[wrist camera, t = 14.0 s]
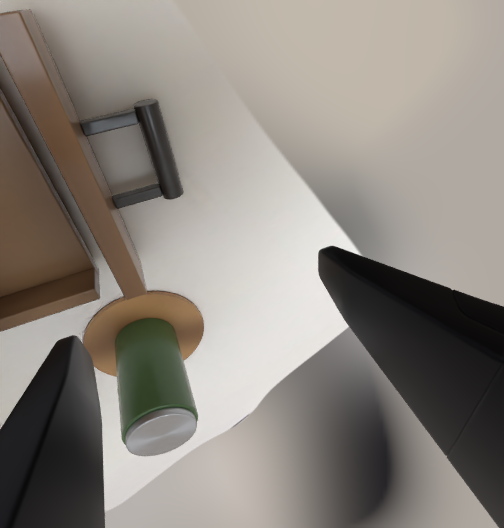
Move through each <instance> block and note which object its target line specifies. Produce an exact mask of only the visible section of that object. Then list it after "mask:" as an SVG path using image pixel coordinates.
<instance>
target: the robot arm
mask: <svg viewBox="0 0 504 528" xmlns="http://www.w3.org/2000/svg"><path fill="white" fill-rule="evenodd" d="M318 272H319V276H320V279H321V280H322V282H323V284H324V286H325V287H326V289H327V291H328V292H329V294H330V296H331V298H332V299H333V301H334V303H335V305H336V306H337V308H338V310H339V311H340V313H341V315H342V316H343V318H344V320H345V321H346V323H347V324H348V325H349V327H350V328H351V329H352V331H353V332H354V333H355V335H356V336H357V337H358V339H359V340H360V341H361V343H362V344H363V345H364V347H365V348H366V350H367V351H368V352H369V354H370V355H371V356H372V358H373V359H374V360H375V362H376V363H377V364H378V366H379V367H380V368H381V370H382V371H383V372H384V374H385V375H386V376H387V378H388V379H389V380H390V382H391V383H392V384H393V386H394V387H395V388H396V390H397V391H398V392H399V394H400V395H401V396H402V398H403V399H404V400H405V402H406V403H407V404H408V406H409V407H410V409H411V410H412V411H413V412H414V414H415V415H416V417H417V418H418V419H419V421H420V422H421V423H422V425H423V426H424V427H425V429H426V430H427V431H428V433H429V434H430V435H431V437H432V438H433V439H434V441H435V442H436V443H437V445H438V446H439V447H440V449H441V450H442V451H443V453H444V454H445V455H446V456H447V458H448V460H449V461H450V462H451V464H452V465H453V467H454V468H455V469H456V471H457V472H458V473H459V475H460V476H461V477H462V479H463V480H464V481H465V483H466V484H467V485H468V487H469V488H470V489H471V491H472V492H473V493H474V495H475V496H476V497H477V499H478V500H479V501H480V503H481V504H482V505H483V507H484V508H485V509H486V511H487V512H488V513H489V515H490V516H491V517H492V519H493V520H494V522H495V523H496V524H497V526H498V527H499V528H504V307H503V306H500V305H497V304H494V303H490V302H488V301H484V300H482V299H479V298H476V297H473V296H470V295H467V294H465V293H462V292H459V291H456V290H451V289H450V288H448V287H445V286H442V285H440V284H437V283H434V282H431V281H429V280H426V279H423V278H420V277H417V276H415V275H412V274H409V273H407V272H404V271H401V270H398V269H395V268H393V267H390V266H387V265H385V264H382V263H379V262H376V261H374V260H371V259H368V258H365V257H363V256H360V255H357V254H354V253H352V252H349V251H346V250H343V249H341V248H338V247H335V246H329V247H326V248H323V249H321V250H320V251H319V254H318ZM0 528H105V513H104V479H103V445H102V419H101V410H100V403H99V397H98V391H97V384H96V378H95V372H94V366H93V360H92V357H91V355H90V353H89V352H88V351H87V349H86V348H85V346H84V345H83V344H82V342H81V341H80V339H79V338H78V337H77V336H74V335H73V336H69V337H66V338H64V339H61V340H59V341H57V342H56V344H55V345H54V347H53V348H52V350H51V351H50V353H49V355H48V356H47V358H46V359H45V361H44V362H43V364H42V365H41V367H40V368H39V370H38V372H37V373H36V375H35V376H34V378H33V379H32V381H31V382H30V384H29V386H28V387H27V389H26V390H25V392H24V393H23V395H22V396H21V398H20V400H19V401H18V403H17V404H16V406H15V407H14V409H13V410H12V412H11V414H10V415H9V417H8V418H7V420H6V421H5V423H4V424H3V426H2V427H1V429H0Z"/></svg>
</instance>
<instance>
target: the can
mask: <svg viewBox="0 0 504 528" xmlns="http://www.w3.org/2000/svg"><path fill="white" fill-rule="evenodd" d="M115 357H116V370H117V383H118V396H119V409H120V422H121V435H122V441H123V442H124V444H125V445H126V447H127V449H128V451H129V452H131V453H132V454H135V455H138V456H154V455H159V454H163V453H166V452H169V451H171V450H173V449H176V448H177V447H179V446H181V445H182V444H184V443H185V442H187V441H188V440H189V439H190V438H191V437H192V436H193V434H194V433H195V431H196V427H197V420H198V413H197V410H196V406H195V402H194V398H193V395H192V391H191V387H190V383H189V380H188V376H187V372H186V368H185V365H184V361H183V357H182V353H181V350H180V346H179V342H178V338H177V334H176V331H175V329H174V327H173V326H172V325H171V324H170V323H169V322H167V321H165V320H162V319H158V318H145V319H140V320H137V321H134V322H132V323H130V324H128V325H127V326H125V327H124V328H123V329H122V330H121V331H120V332H119V333H118V335H117V337H116V339H115Z"/></svg>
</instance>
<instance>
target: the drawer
mask: <svg viewBox="0 0 504 528" xmlns="http://www.w3.org/2000/svg"><path fill="white" fill-rule="evenodd" d="M0 56H1V57H2V59H3V61H4V63H5V65H6V67H7V69H8V71H9V73H10V75H11V77H12V79H13V81H14V83H15V85H16V87H17V89H18V90H19V92H20V94H21V96H22V98H23V100H24V102H25V104H26V106H27V108H28V110H29V112H30V114H31V116H32V118H33V120H34V122H35V124H36V125H37V127H38V129H39V131H40V133H41V135H42V137H43V139H44V141H45V143H46V145H47V147H48V149H49V151H50V153H51V155H52V157H53V158H54V160H55V162H56V164H57V166H58V168H59V170H60V172H61V174H62V176H63V178H64V180H65V182H66V184H67V186H68V188H69V190H70V192H71V193H72V195H73V197H74V199H75V201H76V203H77V205H78V207H79V209H80V211H81V213H82V215H83V217H84V219H85V221H86V223H87V225H88V226H89V228H90V230H91V232H92V234H93V236H94V238H95V240H96V242H97V244H98V246H99V248H100V250H101V252H102V254H103V256H104V258H105V259H106V261H107V263H108V265H109V267H110V269H111V271H112V273H113V275H114V277H115V279H116V281H117V283H118V285H119V287H120V289H121V291H122V293H123V294H124V296H125V298H126V300H129V299H132V298H135V297H138V296H141V295H144V294H146V293H147V290H146V285H145V280H144V276H143V271H142V266H141V262H140V259H139V257H138V255H137V252H136V250H135V248H134V245H133V243H132V241H131V238H130V236H129V234H128V231H127V229H126V227H125V225H124V222H123V220H122V218H121V215H120V213H119V211H118V208H122V207H125V206H129V205H133V204H136V203H140V202H143V201H147V200H150V199H154V198H157V197H161V196H162V195H163V197H164V198H165V199H175V198H178V197H180V196H181V195H182V194H183V188H182V185H181V181H180V178H179V174H178V171H177V167H176V163H175V160H174V156H173V153H172V149H171V146H170V142H169V138H168V135H167V131H166V128H165V124H164V121H163V117H162V113H161V110H160V106H159V103H158V100H156V99H148V100H143V101H139V102H137V103H135V104H134V109H135V110H134V109H130V110H126V111H122V112H117V113H113V114H108V115H104V116H100V117H95V118H91V119H87V120H82V121H80V120H79V118H78V116H77V113H76V111H75V109H74V107H73V104H72V102H71V100H70V97H69V95H68V93H67V90H66V88H65V86H64V83H63V81H62V79H61V76H60V74H59V72H58V70H57V67H56V65H55V63H54V60H53V58H52V56H51V53H50V51H49V49H48V46H47V44H46V42H45V39H44V37H43V35H42V33H41V30H40V28H39V26H38V23H37V21H36V19H35V16H34V14H33V12H32V10H19V11H12V12H6V13H0ZM138 123H139V125H140V128H141V131H142V134H143V137H144V140H145V143H146V146H147V149H148V152H149V155H150V158H151V162H152V165H153V168H154V171H155V174H156V177H157V180H158V183H159V184H158V183H157V184H153V185H150V186H146V187H142V188H139V189H135V190H131V191H128V192H124V193H121V194H117V195H113V196H112V194H111V192H110V190H109V188H108V185H107V183H106V181H105V178H104V176H103V174H102V171H101V169H100V167H99V164H98V162H97V160H96V157H95V155H94V153H93V150H92V148H91V146H90V144H89V141H88V139H87V137H86V136H89V135H93V134H97V133H102V132H106V131H110V130H114V129H118V128H123V127H127V126H131V125H135V124H138ZM99 298H100V286H99V269H98V267H97V265H96V263H95V261H94V260H93V258H92V256H91V254H90V252H89V250H88V249H87V247H86V245H85V243H84V241H83V239H82V238H81V236H80V234H79V232H78V230H77V228H76V227H75V225H74V223H73V221H72V219H71V217H70V215H69V214H68V212H67V210H66V208H65V206H64V204H63V203H62V201H61V199H60V197H59V195H58V193H57V192H56V190H55V188H54V186H53V184H52V182H51V181H50V179H49V177H48V175H47V173H46V171H45V170H44V168H43V166H42V164H41V162H40V160H39V159H38V157H37V155H36V153H35V151H34V149H33V147H32V146H31V144H30V142H29V140H28V138H27V136H26V135H25V133H24V131H23V129H22V127H21V125H20V124H19V122H18V120H17V118H16V116H15V114H14V113H13V111H12V109H11V107H10V105H9V103H8V102H7V100H6V98H5V96H4V94H3V92H2V90H1V89H0V332H1V331H4V330H7V329H10V328H13V327H16V326H19V325H22V324H25V323H28V322H31V321H34V320H37V319H40V318H43V317H46V316H49V315H52V314H55V313H58V312H61V311H64V310H67V309H70V308H73V307H76V306H79V305H82V304H85V303H88V302H91V301H94V300H97V299H99Z"/></svg>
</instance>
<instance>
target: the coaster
mask: <svg viewBox="0 0 504 528" xmlns="http://www.w3.org/2000/svg"><path fill="white" fill-rule="evenodd" d="M145 318H158V319H162V320H165V321H167V322H169V323H170V324H171V325H172V326H173V327H174V329H175V331H176V334H177V338H178V342H179V346H180V350H181V353H182V357H183V361H184V360H185V359H186V358H188V357H189V356H190V355H191V354H192V353H193V352H194V350H195V349H196V348H197V346H198V345H199V343H200V341H201V339H202V336H203V331H204V323H203V319H202V316H201V314H200V311H199V310H198V309H197V307H196V306H195V305H194V304H193V303H192V302H190V301H189V300H188V299H186V298H184V297H182V296H179V295H177V294H173V293H169V292H161V291H150V292H147V293H146V294H144V295H141V296H138V297H135V298H132V299H129V300H126V298H125V297H123V298H120V299H118V300H116V301H114V302H112V303H110V304H109V305H107V306H106V307H104V308H103V309H102V310H100V311H99V312H98V313H97V314H96V315H95V316H94V317H93V318H92V320H91V321H90V323H89V324H88V326H87V328H86V330H85V334H84V339H83V345H84V346H85V348H86V349H87V351H88V352H89V353H90V355H91V357H92V360H93V366H94V367H95V368H97V369H98V370H100V371H102V372H104V373H106V374H109V375H112V376H117V370H116V357H115V339H116V337H117V335H118V333H119V332H120V331H121V330H122V329H123V328H124V327H125V326H127V325H128V324H130V323H132V322H134V321H137V320H140V319H145Z"/></svg>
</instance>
